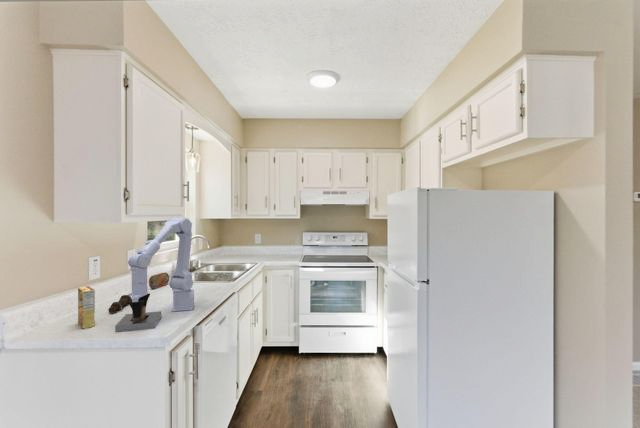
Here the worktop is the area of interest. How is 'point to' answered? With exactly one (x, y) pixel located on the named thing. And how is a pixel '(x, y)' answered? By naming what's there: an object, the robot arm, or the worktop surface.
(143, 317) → the block
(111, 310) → the dark brown dumbbell shape
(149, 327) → the socket plate
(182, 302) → the robot arm
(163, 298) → the worktop surface
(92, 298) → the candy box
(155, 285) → the brown oval slab
